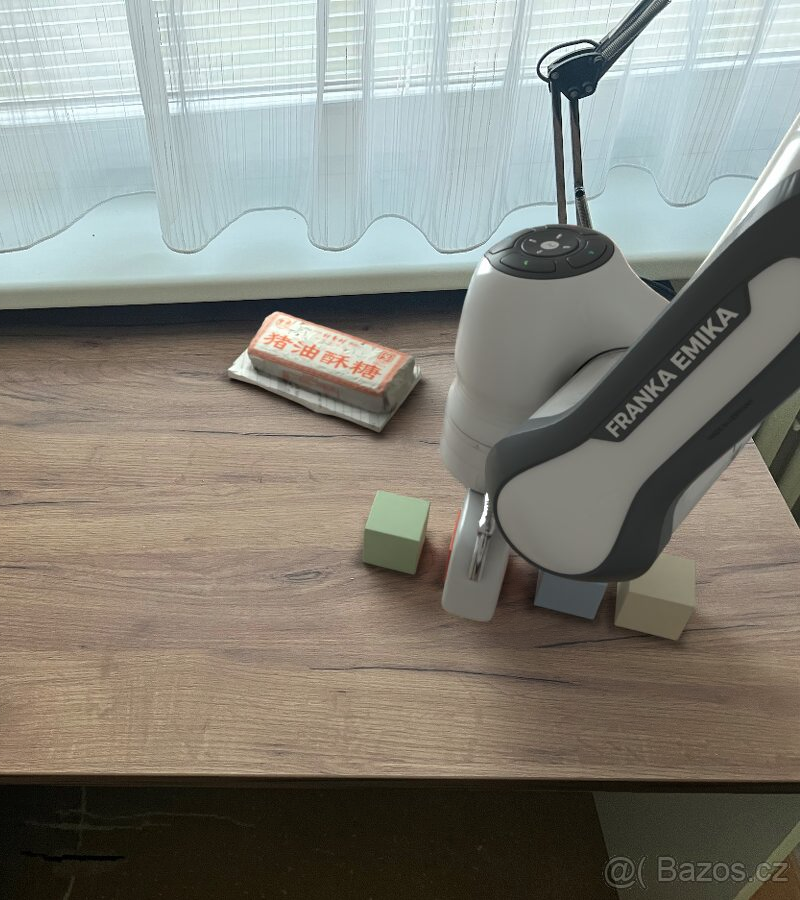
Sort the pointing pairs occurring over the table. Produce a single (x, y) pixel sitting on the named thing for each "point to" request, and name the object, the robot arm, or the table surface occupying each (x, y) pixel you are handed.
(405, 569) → the sage block
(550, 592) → the blue-grey block
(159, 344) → the table surface
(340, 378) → the packaged product
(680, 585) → the cream block
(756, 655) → the table surface
